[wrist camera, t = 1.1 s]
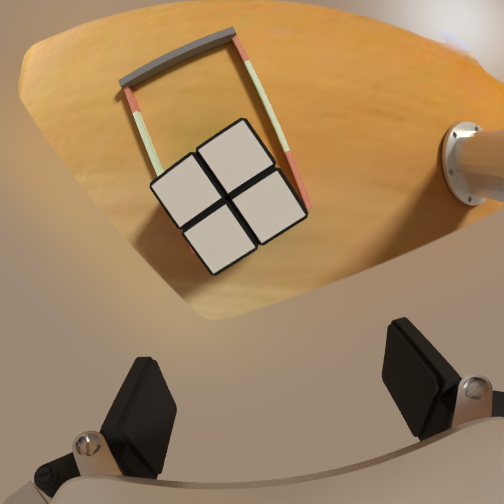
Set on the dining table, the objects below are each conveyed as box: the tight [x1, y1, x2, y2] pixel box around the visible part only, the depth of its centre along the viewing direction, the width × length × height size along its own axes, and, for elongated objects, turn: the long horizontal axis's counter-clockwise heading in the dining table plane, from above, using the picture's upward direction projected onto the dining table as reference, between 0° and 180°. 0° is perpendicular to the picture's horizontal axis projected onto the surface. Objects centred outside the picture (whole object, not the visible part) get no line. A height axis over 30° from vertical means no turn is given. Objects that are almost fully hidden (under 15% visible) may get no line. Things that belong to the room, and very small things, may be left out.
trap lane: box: [119, 27, 312, 255], centre depth 29 cm, size 15×24×2 cm, turn 22°
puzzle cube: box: [150, 118, 308, 275], centre depth 27 cm, size 10×10×10 cm
